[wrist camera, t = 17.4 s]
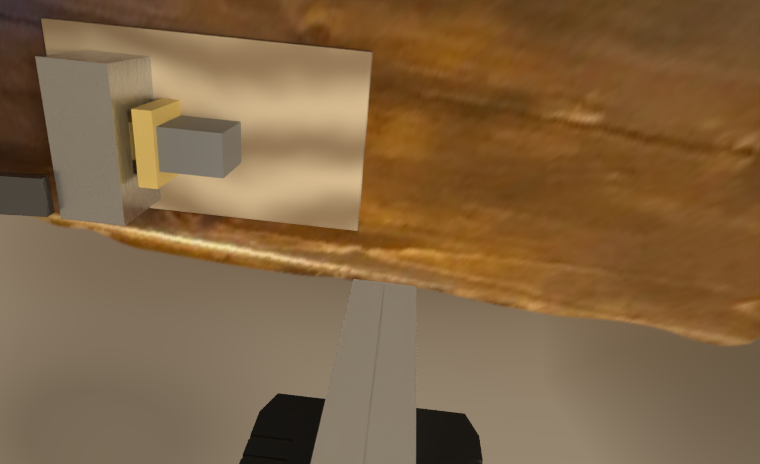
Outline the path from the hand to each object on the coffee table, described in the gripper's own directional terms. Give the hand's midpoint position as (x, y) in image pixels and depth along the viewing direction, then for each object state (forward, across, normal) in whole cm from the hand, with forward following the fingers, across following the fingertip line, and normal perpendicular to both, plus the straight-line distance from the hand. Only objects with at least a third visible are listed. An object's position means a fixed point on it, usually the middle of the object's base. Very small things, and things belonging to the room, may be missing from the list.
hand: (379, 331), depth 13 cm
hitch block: (+31, -23, -4) cm, 39 cm away
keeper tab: (+25, -30, -8) cm, 40 cm away
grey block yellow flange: (+31, -21, -4) cm, 38 cm away
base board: (+32, -16, -4) cm, 36 cm away
